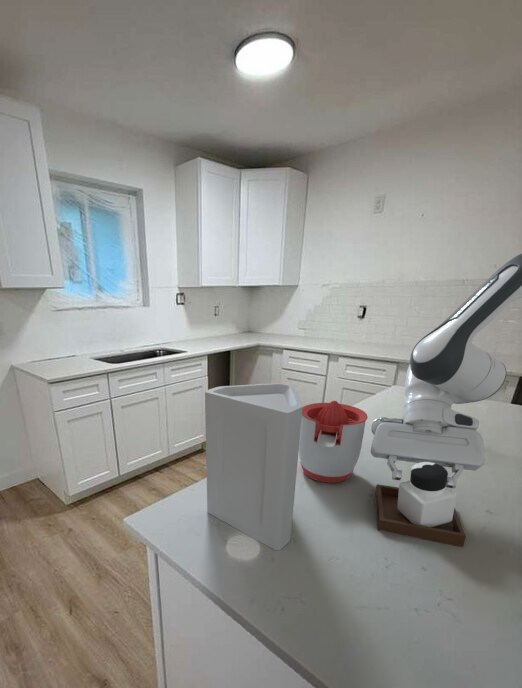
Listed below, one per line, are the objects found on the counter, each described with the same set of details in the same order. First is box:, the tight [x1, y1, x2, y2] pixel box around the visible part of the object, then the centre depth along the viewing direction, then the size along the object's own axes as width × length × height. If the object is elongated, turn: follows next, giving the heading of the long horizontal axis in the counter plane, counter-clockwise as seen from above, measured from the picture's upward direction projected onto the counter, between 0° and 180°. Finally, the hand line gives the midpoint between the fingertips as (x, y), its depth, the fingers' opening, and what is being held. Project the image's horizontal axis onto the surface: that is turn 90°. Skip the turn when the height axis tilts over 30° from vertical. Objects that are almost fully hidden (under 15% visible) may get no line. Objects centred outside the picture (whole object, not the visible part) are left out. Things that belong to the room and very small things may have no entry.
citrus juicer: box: [298, 400, 369, 484], centre depth 91 cm, size 16×17×20 cm
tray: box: [374, 483, 467, 548], centre depth 77 cm, size 15×15×3 cm
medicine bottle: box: [397, 462, 458, 527], centre depth 72 cm, size 7×7×12 cm
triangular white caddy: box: [204, 382, 304, 551], centre depth 74 cm, size 19×15×28 cm
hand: (422, 483), depth 73 cm, fingers open, 8 cm apart
